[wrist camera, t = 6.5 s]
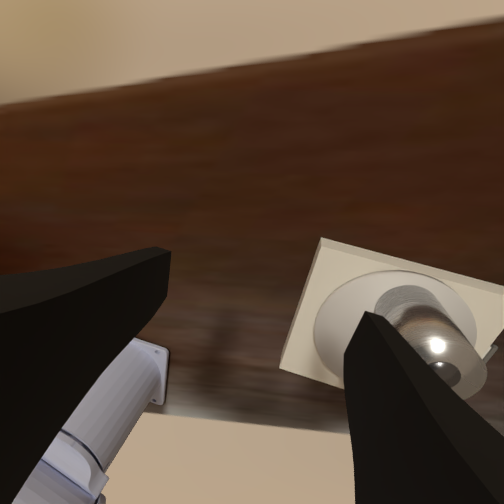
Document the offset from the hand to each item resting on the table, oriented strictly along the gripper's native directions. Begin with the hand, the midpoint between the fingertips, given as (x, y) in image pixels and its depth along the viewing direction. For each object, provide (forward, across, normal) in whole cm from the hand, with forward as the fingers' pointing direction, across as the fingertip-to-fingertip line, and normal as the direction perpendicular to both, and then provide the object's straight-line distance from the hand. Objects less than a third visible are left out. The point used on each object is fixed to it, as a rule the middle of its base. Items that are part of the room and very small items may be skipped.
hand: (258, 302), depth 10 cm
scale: (+10, -9, +6) cm, 14 cm away
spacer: (+7, -9, +2) cm, 12 cm away
